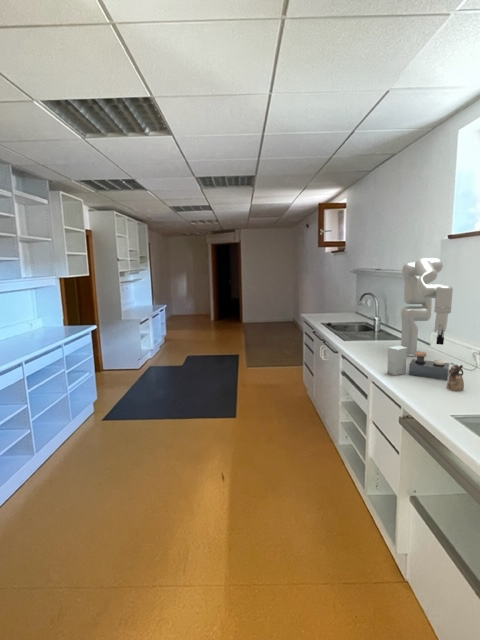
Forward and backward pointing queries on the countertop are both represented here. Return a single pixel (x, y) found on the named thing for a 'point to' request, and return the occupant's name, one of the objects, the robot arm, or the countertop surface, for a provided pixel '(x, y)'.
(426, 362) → the housing
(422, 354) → the knob
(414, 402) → the countertop surface
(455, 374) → the figurine
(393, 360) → the skincare box
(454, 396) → the countertop surface
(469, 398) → the countertop surface
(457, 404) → the countertop surface
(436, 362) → the knob
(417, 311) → the robot arm
